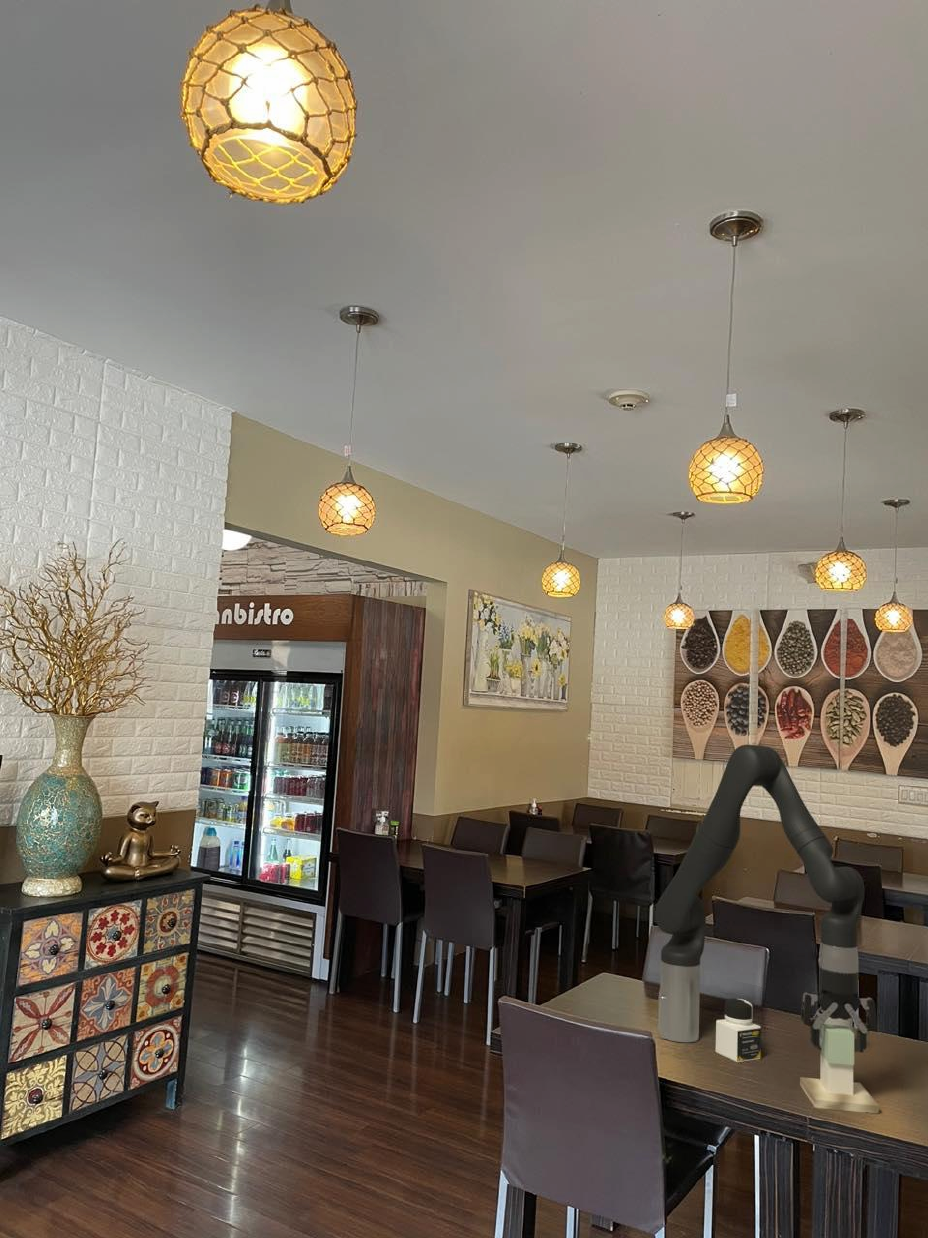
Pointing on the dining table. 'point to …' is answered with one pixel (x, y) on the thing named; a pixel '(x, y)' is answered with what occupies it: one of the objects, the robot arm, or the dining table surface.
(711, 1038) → the dining table surface
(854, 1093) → the beech board
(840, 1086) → the cream block
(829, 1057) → the sage block
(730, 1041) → the medicine bottle
